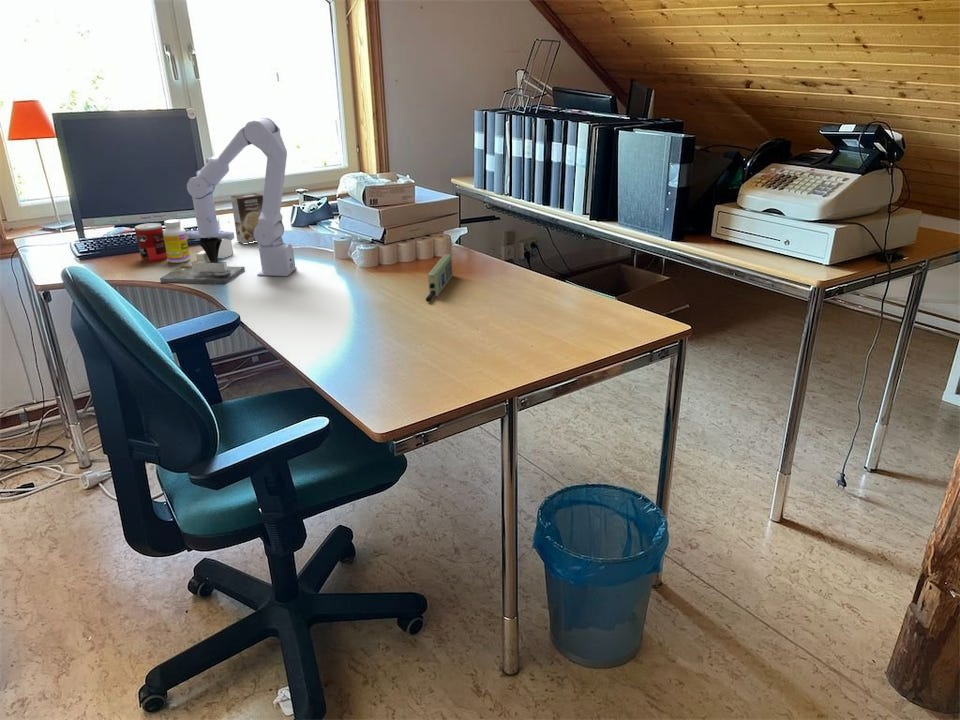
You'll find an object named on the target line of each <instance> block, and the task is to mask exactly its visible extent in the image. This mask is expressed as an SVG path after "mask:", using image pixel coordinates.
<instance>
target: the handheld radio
mask: <svg viewBox="0 0 960 720" xmlns="http://www.w3.org/2000/svg"><path fill="white" fill-rule="evenodd" d="M452 258H453V257H452V254H451V253H450V254H449V253H448V254H443V255H442V256H441V258H440V259H439V261H437V263H436V264H435V265H434V266H433V268H432V269H431V270H430V271H429V272H428V274H427V279H428V280H427V282H428V290H429V291H428V292H429V294H428V295H427V296H426V298H425V302H428V303H429V302H431V301H432V299H433V298H434V297H435V296H437V297H439V295H440V294H441V292H442V291H443V290H444V289H445V287H446V286H447V284H448V283H449V282H450V279H452V277H453V276H454V274H453V259H452Z"/></svg>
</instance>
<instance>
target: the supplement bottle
mask: <svg viewBox="0 0 960 720" xmlns="http://www.w3.org/2000/svg"><path fill="white" fill-rule="evenodd" d="M163 224H164V227H165V229H164V230H163V237H164V242H165V247H166V252H167V260H168V262H169V263H172V264H180V263H181V264H182V263H185V262H188V261H190V260H191V256H190V255H191V254H190V250H189V249H190V248H189V244H188V239H185V232H186V230H185V229H184V228H183V227H181V220H180V219H167V220H164V222H163Z"/></svg>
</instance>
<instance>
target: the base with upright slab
mask: <svg viewBox="0 0 960 720" xmlns="http://www.w3.org/2000/svg"><path fill="white" fill-rule="evenodd" d="M216 217H217V222H218V228H219V231H222V230H221V224H220V219H219V216H218V215H216ZM232 242H233V241H232V240H228V239H222V242H221V244H220V247H219V252H218V258H222V259H225V258H224V257H227V258H229V257H228V256H230V257H232V256H233V255H234V250H233V243H232ZM202 251H204V249H203V248H202ZM232 254H233V255H232ZM231 255H232V256H231Z"/></svg>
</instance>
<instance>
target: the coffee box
mask: <svg viewBox="0 0 960 720" xmlns="http://www.w3.org/2000/svg"><path fill="white" fill-rule="evenodd" d="M263 195H264V194H260V193H256V192H253V193H245V194H237V195H235V194H234V195H231V196H230V201H231V206H232V212H233V213H232V215H233V221H234V227H235V234H236V235H235V236H236V240H237V241H239V242H241V243H249V242H253V241H256V240H255V238H254V234H253V233H254V229H255V228H256V226H257V224H258V219H259V217H260V214H261V212H262V204H263ZM239 242H238V243H239ZM241 243H240V244H241Z"/></svg>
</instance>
